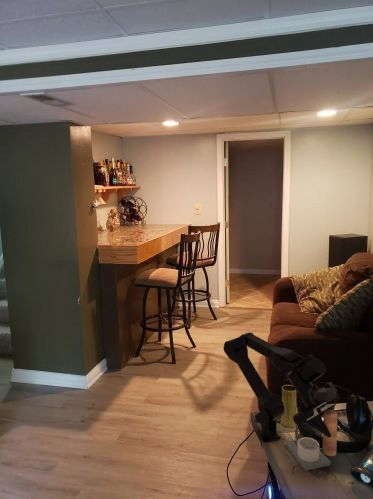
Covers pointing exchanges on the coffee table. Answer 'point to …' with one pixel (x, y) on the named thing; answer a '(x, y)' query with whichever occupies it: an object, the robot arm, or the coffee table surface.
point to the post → (331, 425)
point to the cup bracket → (308, 453)
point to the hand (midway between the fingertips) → (334, 434)
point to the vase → (289, 405)
